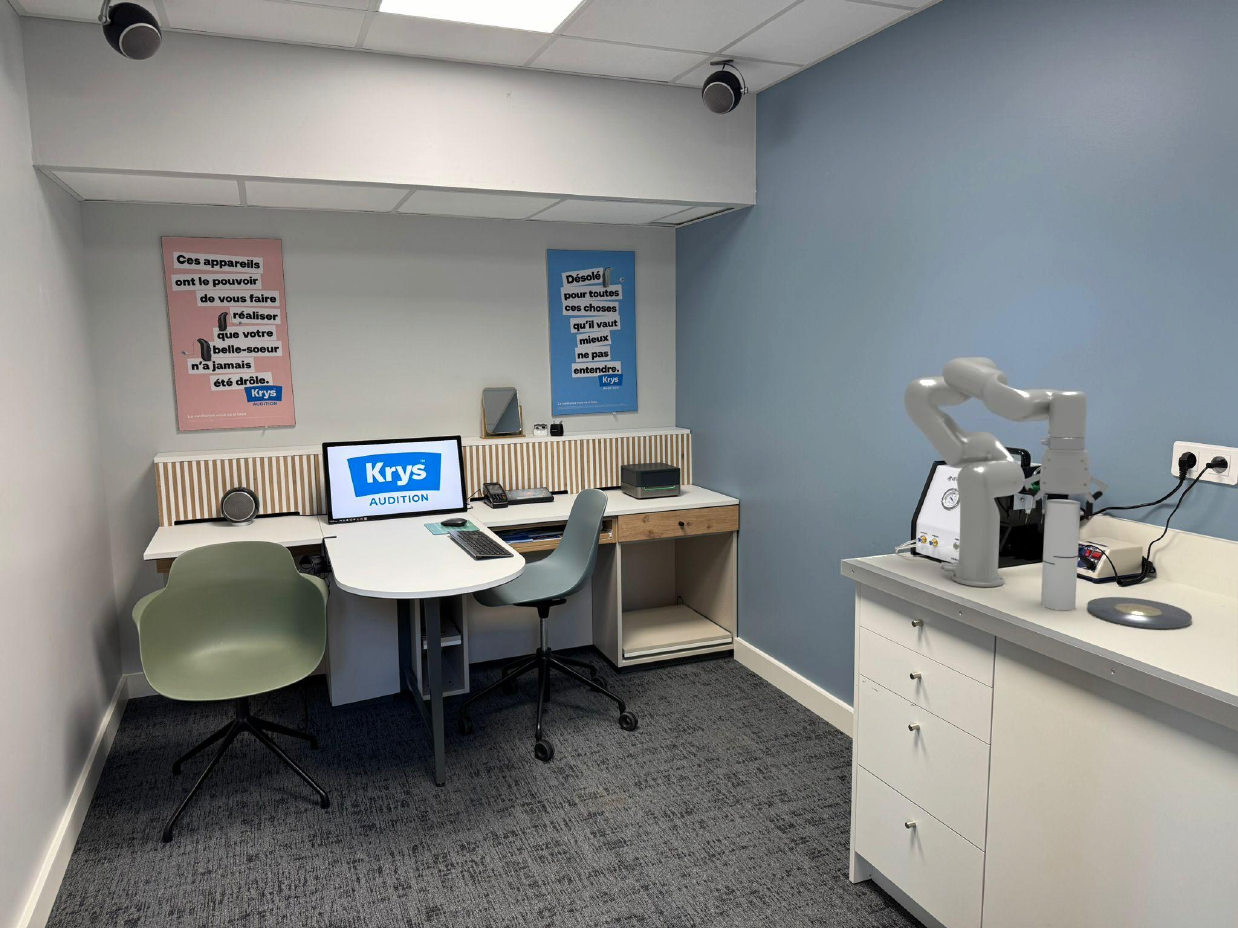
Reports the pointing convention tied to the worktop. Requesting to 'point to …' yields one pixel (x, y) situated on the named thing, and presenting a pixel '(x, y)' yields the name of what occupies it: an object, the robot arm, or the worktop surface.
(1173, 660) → the worktop surface
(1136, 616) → the plate
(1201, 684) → the worktop surface
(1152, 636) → the worktop surface
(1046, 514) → the cylindrical container
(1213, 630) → the worktop surface
